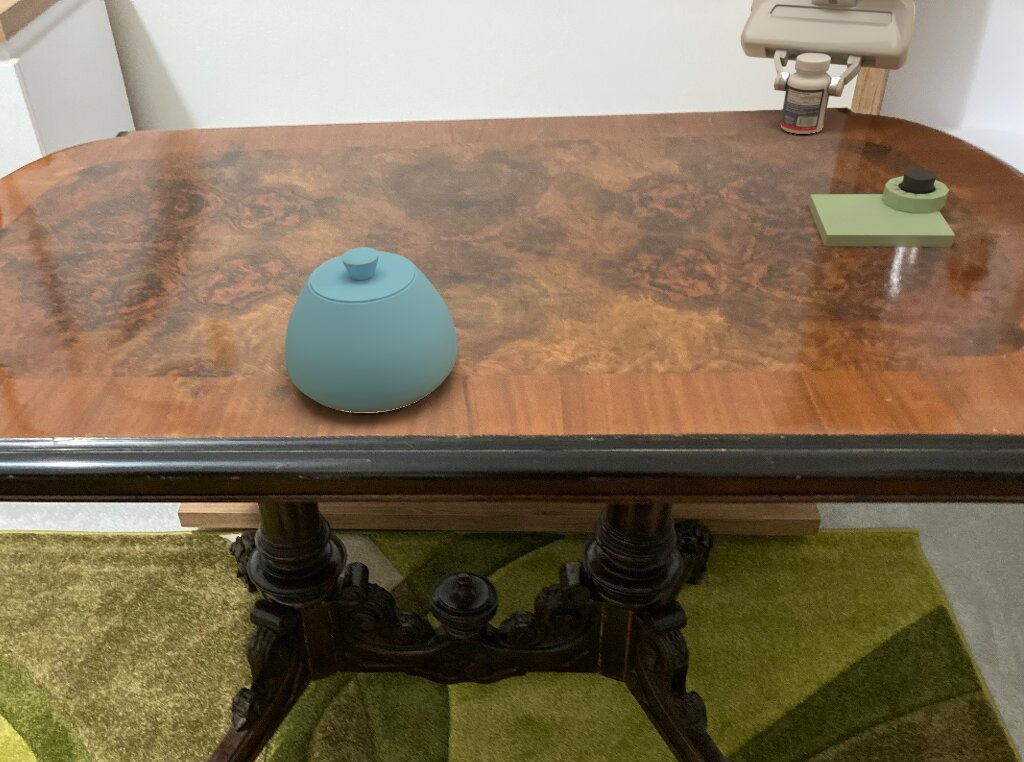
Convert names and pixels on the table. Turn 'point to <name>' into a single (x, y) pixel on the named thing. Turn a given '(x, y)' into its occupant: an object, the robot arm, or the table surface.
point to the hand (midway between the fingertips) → (806, 91)
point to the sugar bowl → (369, 334)
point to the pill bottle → (807, 94)
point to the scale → (883, 218)
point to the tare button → (918, 181)
